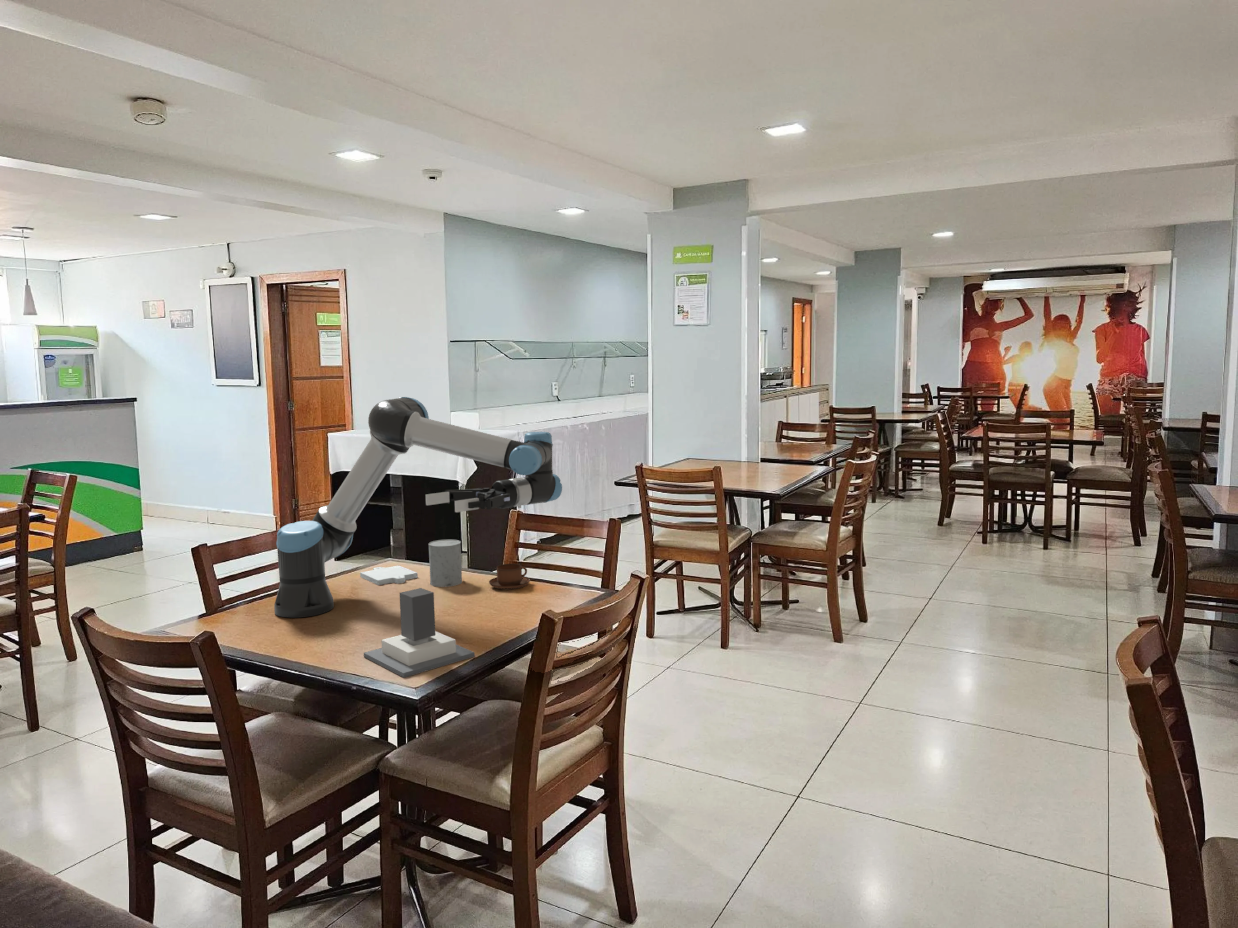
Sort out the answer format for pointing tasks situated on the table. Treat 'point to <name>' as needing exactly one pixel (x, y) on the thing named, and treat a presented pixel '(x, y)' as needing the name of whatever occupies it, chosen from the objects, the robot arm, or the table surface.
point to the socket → (417, 654)
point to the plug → (417, 615)
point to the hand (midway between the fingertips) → (440, 503)
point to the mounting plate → (388, 575)
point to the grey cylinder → (445, 563)
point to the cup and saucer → (509, 577)
